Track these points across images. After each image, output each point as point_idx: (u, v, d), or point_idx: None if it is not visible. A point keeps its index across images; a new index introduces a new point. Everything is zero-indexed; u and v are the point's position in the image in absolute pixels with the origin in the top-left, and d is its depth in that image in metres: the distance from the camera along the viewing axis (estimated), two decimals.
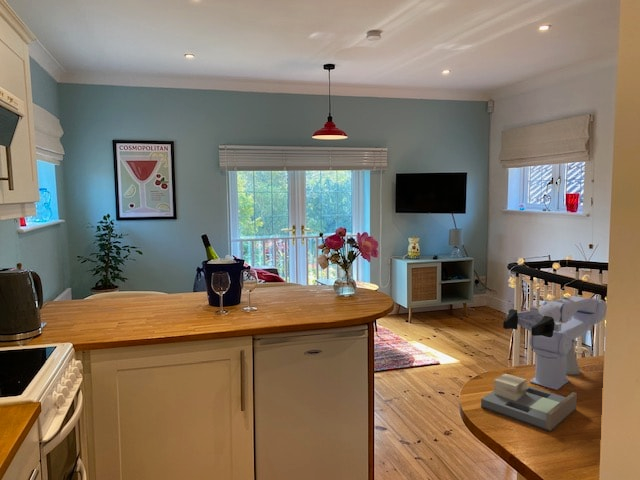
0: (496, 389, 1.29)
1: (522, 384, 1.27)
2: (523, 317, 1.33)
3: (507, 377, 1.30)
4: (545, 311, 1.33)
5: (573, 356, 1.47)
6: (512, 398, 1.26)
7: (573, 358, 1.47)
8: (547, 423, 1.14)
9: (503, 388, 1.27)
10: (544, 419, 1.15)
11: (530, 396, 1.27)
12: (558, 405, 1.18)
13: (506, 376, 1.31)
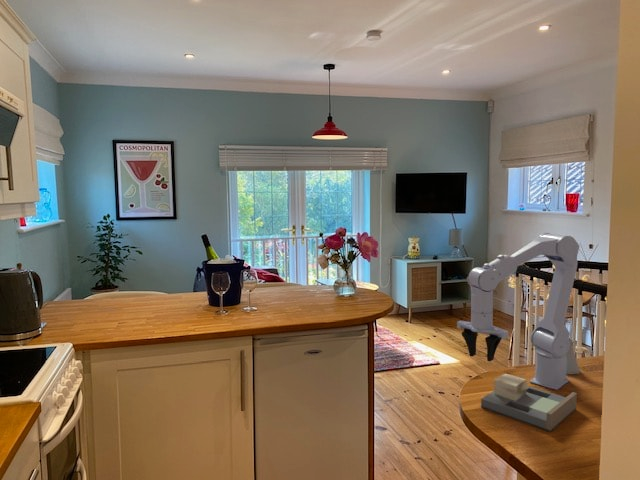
0: (496, 389, 1.29)
1: (522, 384, 1.27)
2: None
3: (507, 377, 1.30)
4: (482, 317, 1.30)
5: (572, 356, 1.47)
6: (512, 398, 1.26)
7: (572, 357, 1.47)
8: (547, 423, 1.14)
9: (503, 388, 1.27)
10: (544, 419, 1.15)
11: (530, 396, 1.27)
12: (558, 405, 1.18)
13: (506, 376, 1.31)
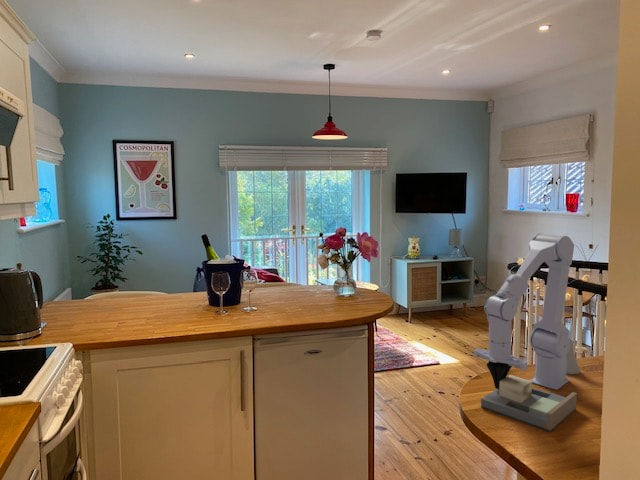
0: (501, 391, 1.28)
1: (528, 386, 1.26)
2: None
3: (512, 378, 1.29)
4: (500, 347, 1.27)
5: (572, 356, 1.47)
6: (517, 400, 1.25)
7: (572, 357, 1.47)
8: (547, 423, 1.14)
9: (508, 390, 1.26)
10: (544, 419, 1.15)
11: (530, 396, 1.27)
12: (558, 405, 1.18)
13: (511, 378, 1.30)
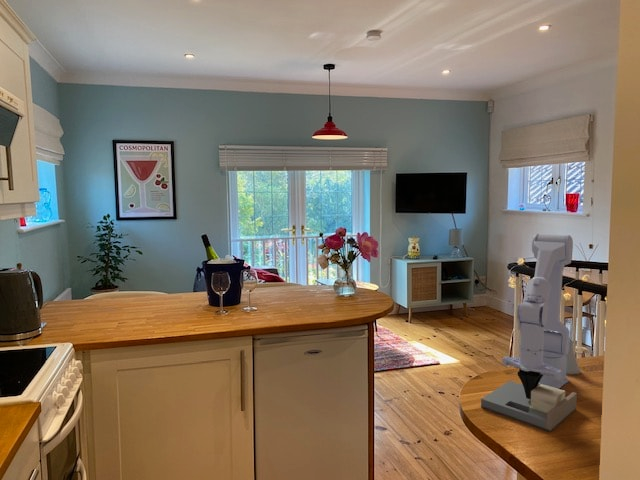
0: (533, 401, 1.21)
1: (561, 396, 1.20)
2: None
3: (544, 388, 1.23)
4: (533, 355, 1.21)
5: (572, 356, 1.47)
6: None
7: (572, 358, 1.47)
8: (547, 423, 1.14)
9: (541, 400, 1.20)
10: (544, 419, 1.15)
11: None
12: (558, 405, 1.18)
13: (543, 387, 1.24)
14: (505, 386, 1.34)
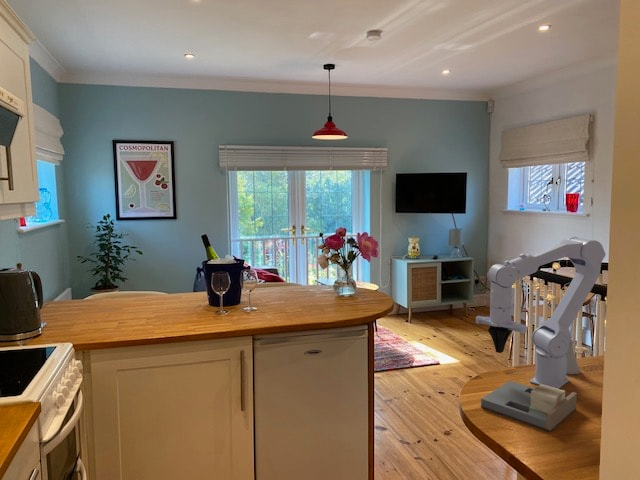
0: (533, 401, 1.21)
1: (561, 396, 1.20)
2: None
3: (544, 388, 1.23)
4: (501, 312, 1.35)
5: (572, 356, 1.47)
6: None
7: (572, 357, 1.47)
8: (547, 423, 1.14)
9: (541, 400, 1.20)
10: (544, 419, 1.15)
11: (530, 396, 1.27)
12: (558, 405, 1.18)
13: (543, 387, 1.24)
14: (505, 386, 1.34)
